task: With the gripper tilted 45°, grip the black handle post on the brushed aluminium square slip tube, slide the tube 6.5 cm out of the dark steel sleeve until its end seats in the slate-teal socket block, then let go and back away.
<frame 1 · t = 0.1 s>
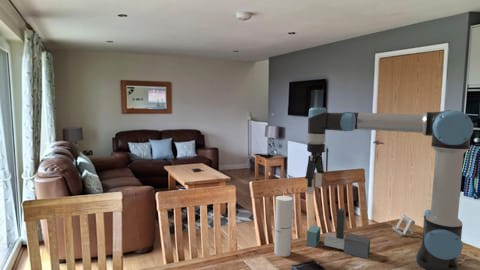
hand: (314, 190, 143), 28 cm above the table, tool pointing down, fingers open, 13 cm apart
steel sleeve: (356, 252, 144), on the table
socket block: (313, 243, 154), on the table
portable electronic device stand: (403, 233, 168), on the table
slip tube: (346, 229, 146), point 10 cm above the table, slide at 0.0 cm
cylindrical container: (282, 253, 143), on the table
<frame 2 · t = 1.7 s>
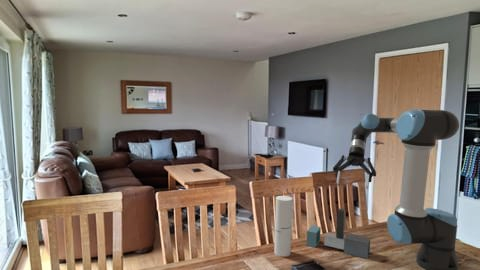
hand: (351, 185, 155), 28 cm above the table, tool tilted 45°, fingers open, 13 cm apart
nothing on the table moved.
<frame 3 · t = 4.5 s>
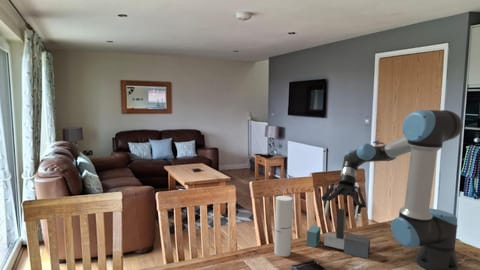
hand: (340, 216, 149), 14 cm above the table, tool tilted 45°, fingers open, 13 cm apart
nothing on the table moved.
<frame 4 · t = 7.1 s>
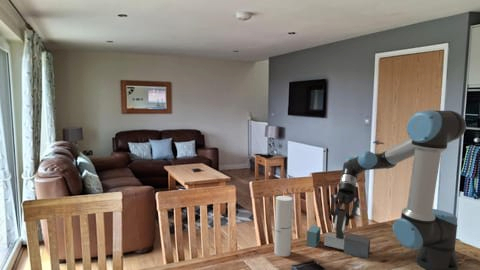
hand: (338, 230, 144), 10 cm above the table, tool tilted 45°, fingers closed on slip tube, 3 cm apart
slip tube: (346, 229, 146), point 10 cm above the table, slide at 0.0 cm, touching gripper
everything else where it was.
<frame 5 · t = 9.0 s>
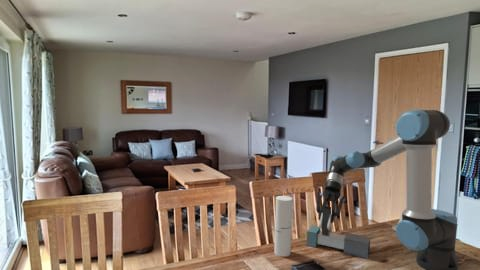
hand: (324, 227, 147), 10 cm above the table, tool tilted 45°, fingers closed on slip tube, 3 cm apart
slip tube: (331, 226, 149), point 10 cm above the table, slide at 6.5 cm, touching gripper
everything else where it was.
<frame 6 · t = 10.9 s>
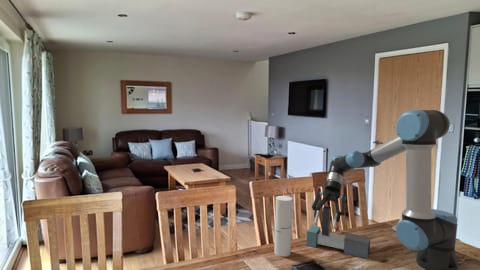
hand: (324, 225, 147), 11 cm above the table, tool tilted 45°, fingers open, 8 cm apart
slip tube: (331, 226, 149), point 10 cm above the table, slide at 6.6 cm
everything else where it was.
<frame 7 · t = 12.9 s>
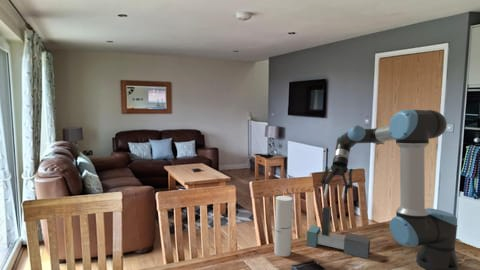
hand: (333, 197, 158), 21 cm above the table, tool tilted 45°, fingers open, 8 cm apart
nothing on the table moved.
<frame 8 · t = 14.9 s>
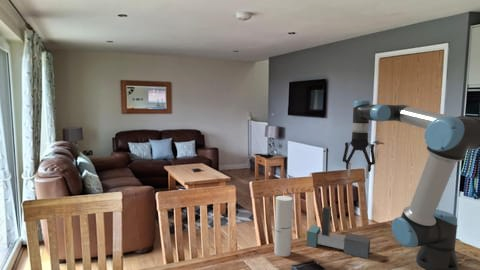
hand: (357, 176, 161), 30 cm above the table, tool pointing down, fingers open, 8 cm apart
nothing on the table moved.
at the end: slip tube slide at 6.6 cm; the gripper is holding nothing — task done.
